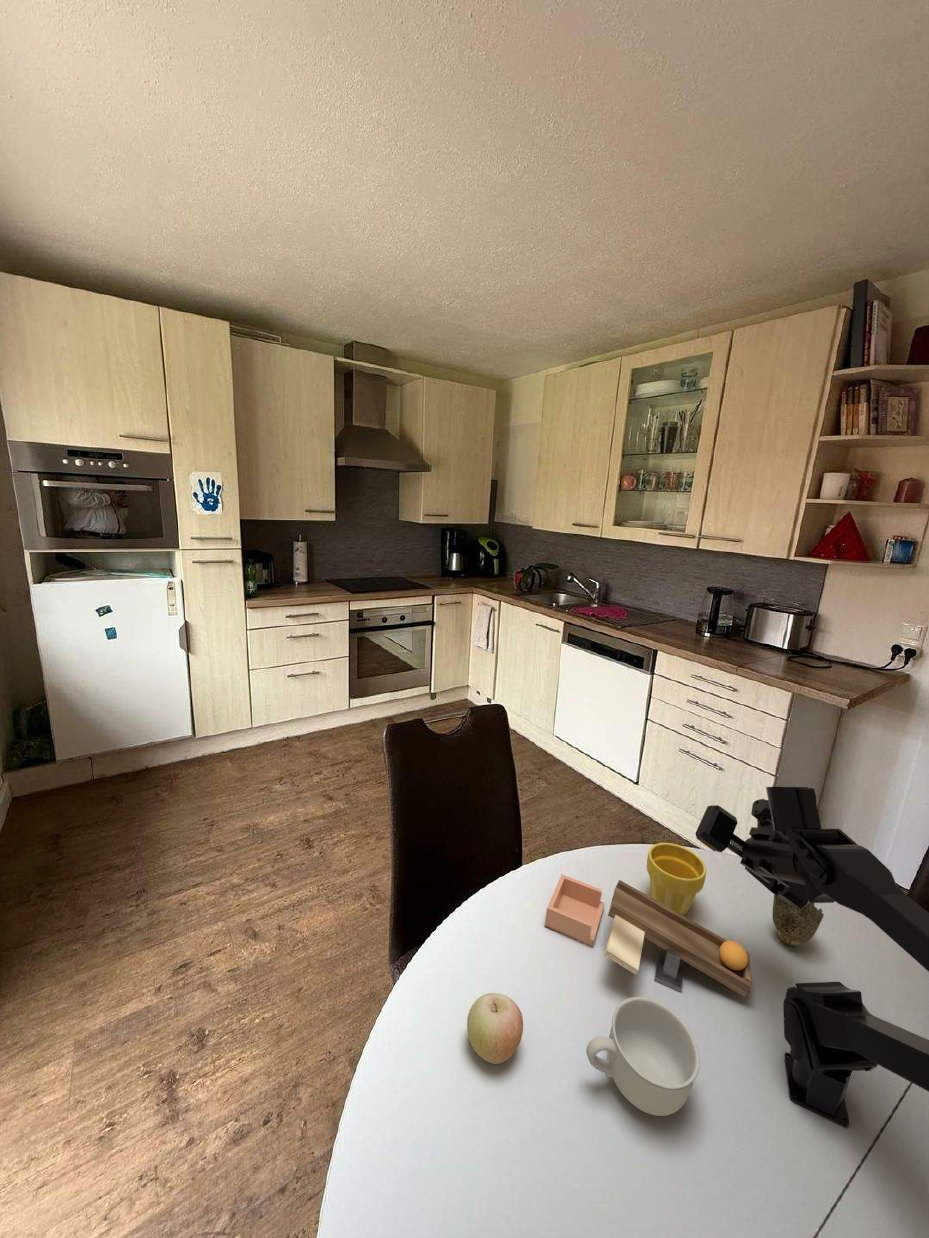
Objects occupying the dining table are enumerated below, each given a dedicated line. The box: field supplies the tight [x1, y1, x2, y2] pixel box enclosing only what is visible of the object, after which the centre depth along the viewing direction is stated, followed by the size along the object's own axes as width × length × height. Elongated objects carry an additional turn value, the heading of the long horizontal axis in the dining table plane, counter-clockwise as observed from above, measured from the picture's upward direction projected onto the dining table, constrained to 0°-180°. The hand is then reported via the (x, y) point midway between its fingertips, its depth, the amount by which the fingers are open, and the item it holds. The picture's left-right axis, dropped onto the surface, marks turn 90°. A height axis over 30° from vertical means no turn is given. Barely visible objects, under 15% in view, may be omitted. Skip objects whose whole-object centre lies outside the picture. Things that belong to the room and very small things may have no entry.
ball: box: [720, 940, 748, 970], centre depth 81 cm, size 4×4×4 cm
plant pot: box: [646, 842, 707, 916], centre depth 97 cm, size 10×10×10 cm
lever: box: [604, 879, 753, 998], centre depth 81 cm, size 15×22×3 cm
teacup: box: [586, 996, 700, 1117], centre depth 66 cm, size 14×11×8 cm
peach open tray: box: [544, 874, 605, 949], centre depth 92 cm, size 10×9×4 cm
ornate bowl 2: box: [771, 893, 824, 948], centre depth 91 cm, size 8×7×8 cm
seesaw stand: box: [653, 912, 685, 993], centre depth 86 cm, size 12×4×5 cm, turn 154°
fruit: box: [466, 992, 524, 1065], centre depth 69 cm, size 8×7×8 cm
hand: (723, 850), depth 89 cm, fingers open, 9 cm apart
